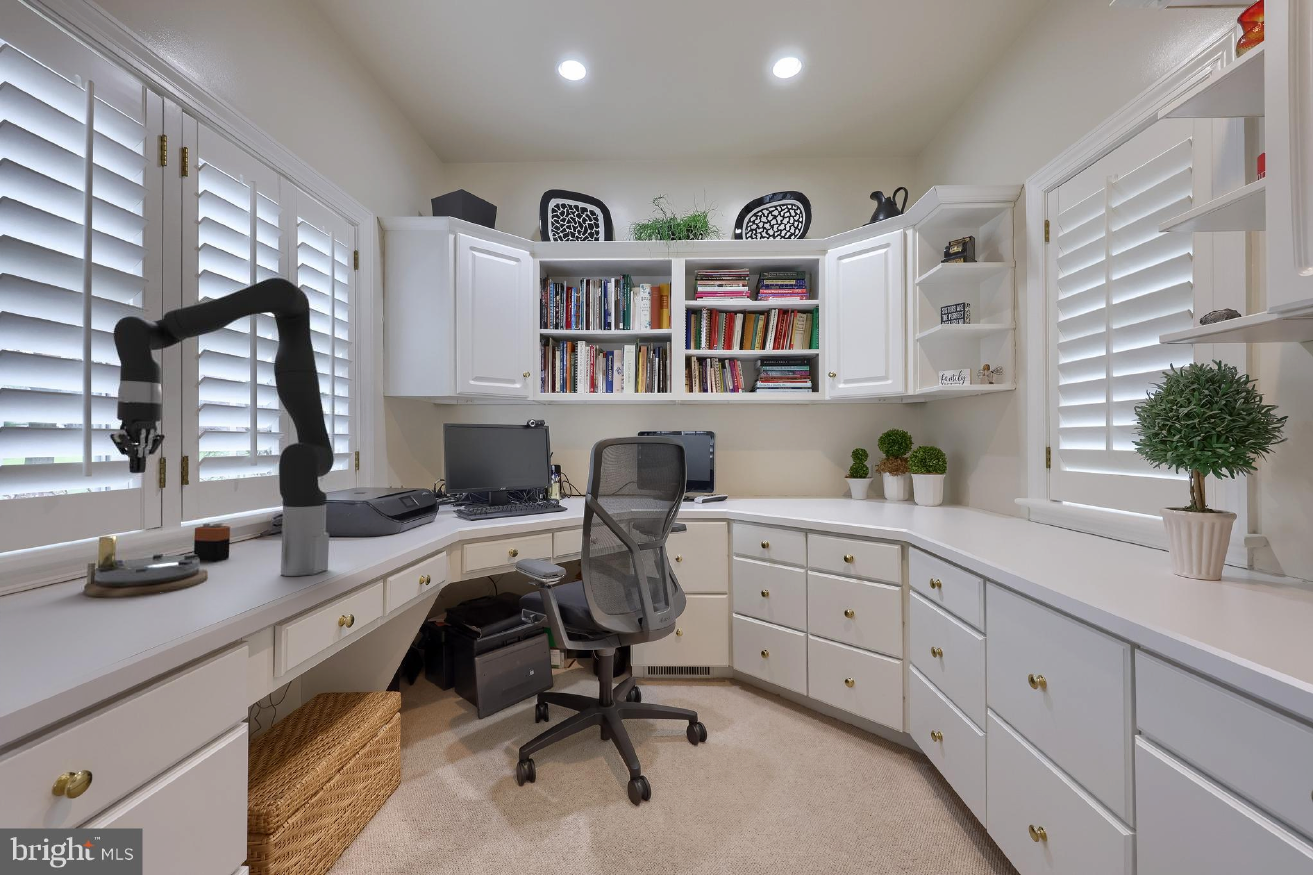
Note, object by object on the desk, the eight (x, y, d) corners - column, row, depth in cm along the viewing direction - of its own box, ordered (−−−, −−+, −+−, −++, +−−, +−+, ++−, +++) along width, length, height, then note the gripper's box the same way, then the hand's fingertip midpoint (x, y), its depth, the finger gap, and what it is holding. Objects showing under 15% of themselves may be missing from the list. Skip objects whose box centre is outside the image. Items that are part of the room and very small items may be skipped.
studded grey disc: (167, 565, 128) (168, 526, 128) (217, 571, 124) (219, 531, 124) (74, 582, 112) (76, 538, 112) (128, 590, 107) (130, 543, 107)
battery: (215, 562, 140) (216, 525, 140) (192, 561, 140) (193, 524, 141) (230, 558, 144) (231, 522, 144) (207, 557, 145) (208, 521, 145)
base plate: (229, 574, 128) (229, 550, 128) (154, 598, 108) (155, 570, 108) (145, 573, 127) (146, 549, 127) (54, 597, 107) (55, 568, 107)
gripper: (145, 402, 131) (143, 471, 130) (96, 398, 118) (93, 474, 117) (178, 404, 132) (176, 471, 131) (134, 399, 119) (131, 474, 118)
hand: (137, 472), depth 124 cm, fingers closed
